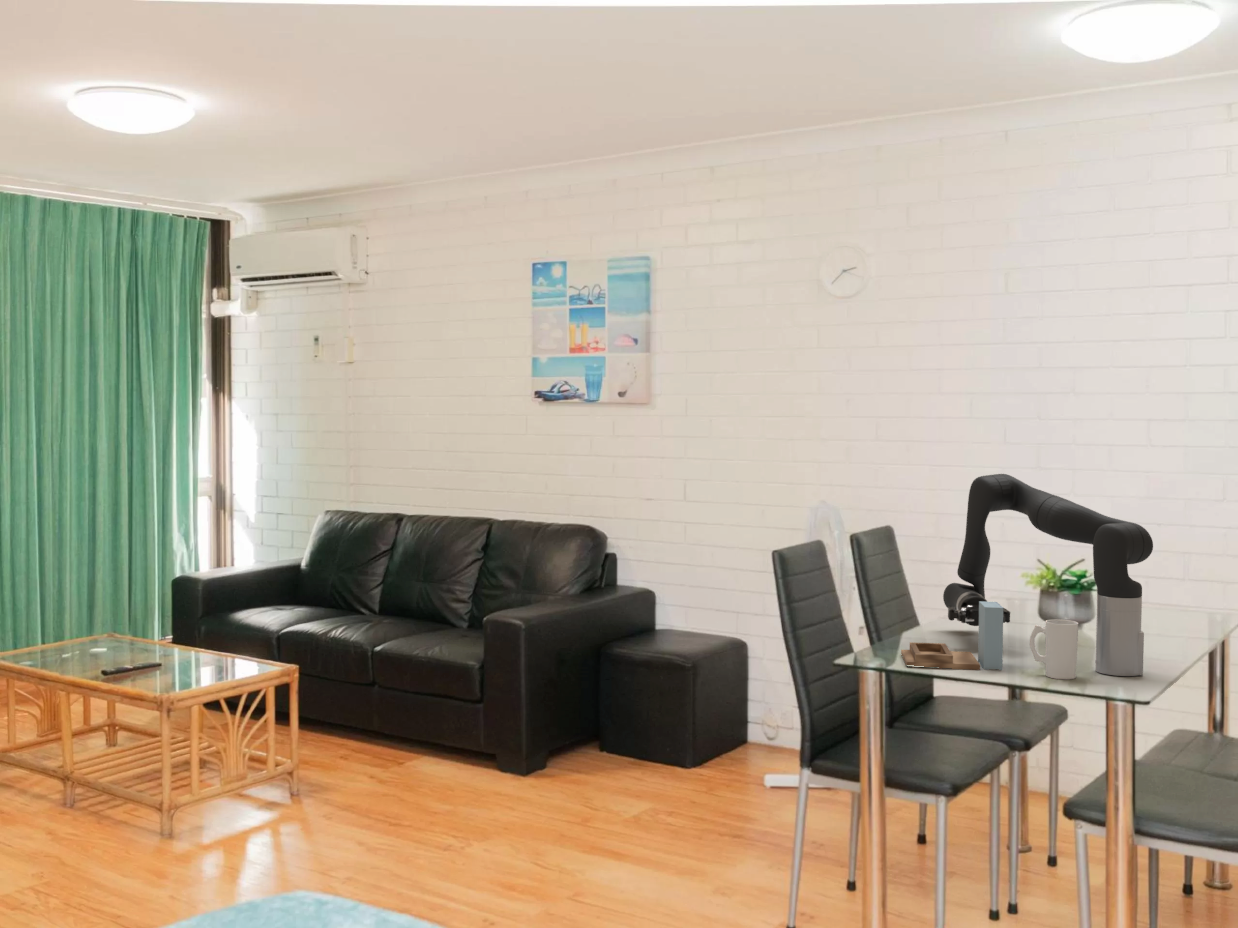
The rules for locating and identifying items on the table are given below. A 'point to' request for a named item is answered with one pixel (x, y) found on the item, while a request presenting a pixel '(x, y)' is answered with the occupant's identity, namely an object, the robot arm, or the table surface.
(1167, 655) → the table surface
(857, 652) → the table surface
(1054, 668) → the mug
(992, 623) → the door panel
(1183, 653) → the table surface
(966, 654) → the base
